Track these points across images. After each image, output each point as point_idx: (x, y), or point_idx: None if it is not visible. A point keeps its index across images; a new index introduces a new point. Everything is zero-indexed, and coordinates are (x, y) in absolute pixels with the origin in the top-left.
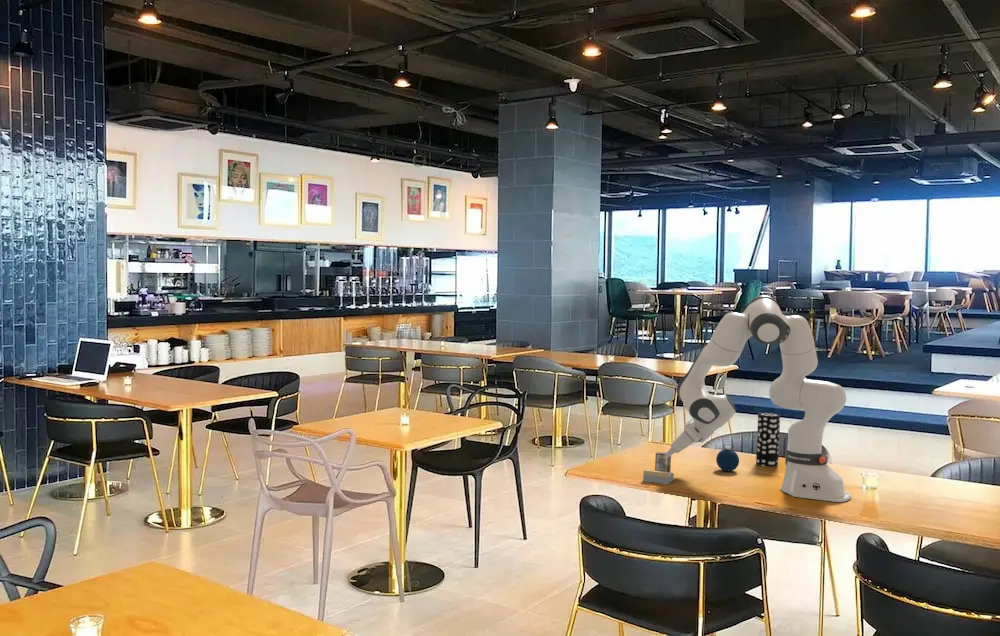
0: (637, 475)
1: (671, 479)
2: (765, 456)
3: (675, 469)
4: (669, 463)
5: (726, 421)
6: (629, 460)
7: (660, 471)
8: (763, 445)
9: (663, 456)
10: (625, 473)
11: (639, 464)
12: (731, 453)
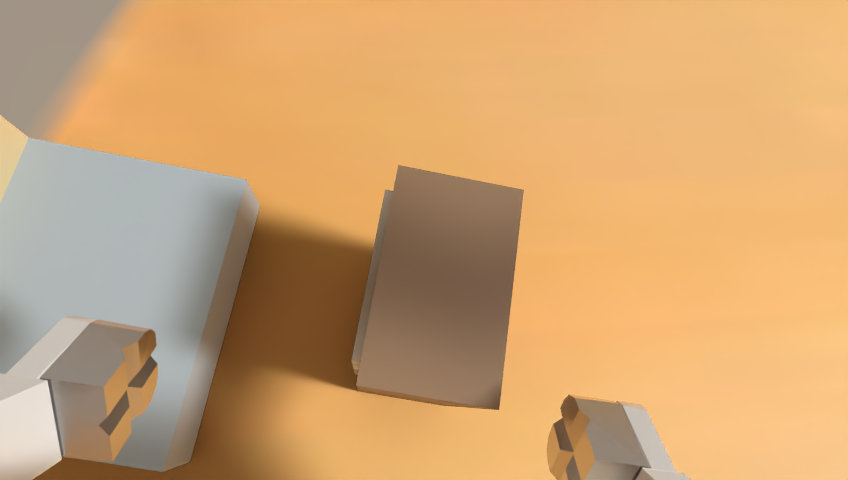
0: (290, 108)
1: None
2: None
3: (710, 441)
4: (395, 395)
5: None
6: (832, 31)
7: (209, 302)
8: None
9: (365, 295)
10: (335, 15)
11: (734, 107)
12: None
